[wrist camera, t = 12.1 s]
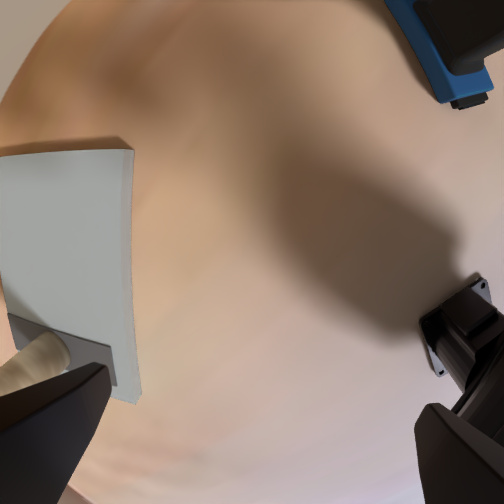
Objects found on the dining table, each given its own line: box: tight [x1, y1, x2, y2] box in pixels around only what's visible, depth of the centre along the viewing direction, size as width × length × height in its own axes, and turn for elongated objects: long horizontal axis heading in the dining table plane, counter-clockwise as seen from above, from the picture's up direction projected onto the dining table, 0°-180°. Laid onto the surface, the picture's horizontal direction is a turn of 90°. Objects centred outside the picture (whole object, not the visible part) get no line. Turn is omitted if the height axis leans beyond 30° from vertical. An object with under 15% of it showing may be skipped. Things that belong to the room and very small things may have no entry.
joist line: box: [7, 313, 118, 387], centre depth 22 cm, size 12×4×1 cm, turn 84°
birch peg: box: [0, 331, 71, 396], centre depth 16 cm, size 4×4×11 cm
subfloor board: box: [0, 149, 142, 405], centre depth 21 cm, size 20×14×2 cm
